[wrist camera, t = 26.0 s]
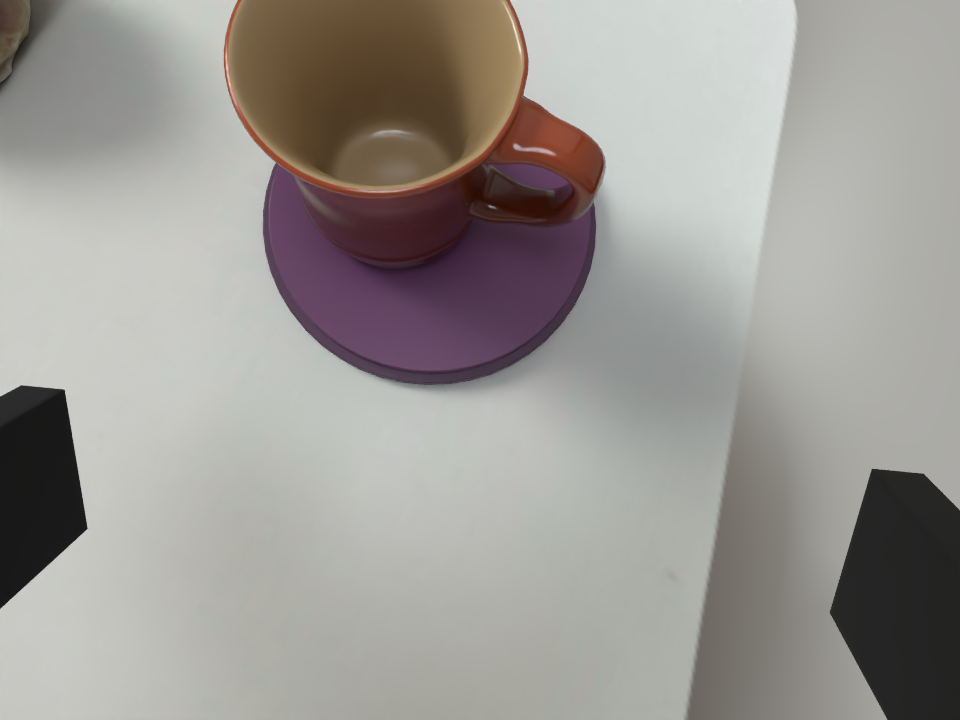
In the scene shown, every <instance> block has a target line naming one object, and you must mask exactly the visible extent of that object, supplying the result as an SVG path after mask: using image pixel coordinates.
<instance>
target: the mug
mask: <svg viewBox="0 0 960 720" xmlns="http://www.w3.org/2000/svg"><path fill="white" fill-rule="evenodd" d="M528 62H529V61H528V53H527V48H526V43H525V39H524V35H523V31H522V28H521V25H520V22H519V19H518V17H517V15H516V12H515V10H514V8H513V6H512V4H511V2H510V0H238V1H237V3H236V5H235V7H234V9H233V12H232V15H231V18H230V21H229V24H228V28H227V32H226V37H225V46H224V68H225V77H226V82H227V87H228V91H229V94H230V97H231V100H232V103H233V106H234V108H235V110H236V112H237V115H238V117H239V119H240V120H241V122H242V124H243V125H244V127H245V129H246V130H247V132H248V133H249V134H250V136H251V137H252V138H253V140H254V141H255V142H256V143H257V145H258V146H259V147H260V148H261V149H262V150H263V151H264V152H265V153H266V154H267V155H268V156H269V157H270V158H271V159H272V160H274V161H275V162H276V163H277V164H278V165H280V166H281V167H282V168H284V169H285V170H287V171H288V172H289V173H291V174H292V176H293V179H294V182H295V184H296V187H297V189H298V191H299V194H300V198H301V200H302V203H303V206H304V208H305V210H306V212H307V214H308V216H309V217H310V219H311V221H312V222H313V223H314V225H315V226H316V227H317V229H318V230H319V231H320V232H321V233H322V234H323V235H324V236H325V237H326V238H327V239H328V240H330V241H331V242H332V243H333V244H334V245H336V246H337V247H338V248H339V249H340V250H341V251H343V252H344V253H345V254H347V255H348V256H350V257H352V258H354V259H356V260H358V261H360V262H362V263H365V264H368V265H371V266H375V267H380V268H389V269H400V268H409V267H414V266H418V265H421V264H424V263H427V262H429V261H431V260H433V259H435V258H437V257H439V256H441V255H442V254H444V253H445V252H447V251H448V250H450V249H451V248H452V247H453V246H454V245H455V244H457V243H458V242H459V240H460V239H461V238H462V237H463V236H464V234H465V233H466V231H467V230H468V228H469V227H470V225H471V223H472V222H473V220H478V221H482V222H487V223H494V224H512V225H522V226H530V227H543V228H546V227H557V226H562V225H566V224H569V223H571V222H573V221H575V220H577V219H578V218H580V217H581V216H582V215H583V214H585V213H586V211H587V210H588V209H589V208H590V206H591V205H592V204H593V202H594V200H595V198H596V196H597V194H598V192H599V190H600V187H601V184H602V181H603V178H604V174H605V168H606V166H605V157H604V154H603V152H602V150H601V148H600V147H599V146H598V144H597V143H596V142H595V141H594V140H593V139H592V138H591V137H590V136H589V135H587V134H586V133H585V132H583V131H582V130H580V129H578V128H577V127H575V126H573V125H571V124H569V123H567V122H565V121H563V120H561V119H559V118H557V117H555V116H554V115H552V114H551V113H549V112H548V111H547V110H545V109H544V108H543V107H542V106H540V105H539V104H537V103H535V102H533V101H531V100H530V99H528V98H526V97H525V96H524V95H523V94H524V89H525V85H526V80H527V75H528ZM492 164H497V165H507V164H528V165H534V166H538V167H541V168H544V169H546V170H549V171H551V172H553V173H555V174H557V175H559V176H561V177H562V178H564V179H565V180H566V181H567V182H569V183H568V184H567V185H565V186H562V187H559V188H553V189H539V188H533V187H529V186H526V185H523V184H521V183H519V182H517V181H515V180H514V179H512V178H510V177H509V176H507V175H505V174H504V173H502V172H501V171H499V170H498V169H496V168H495V167H494V166H493V165H492Z"/></svg>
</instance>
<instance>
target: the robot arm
mask: <svg viewBox="0 0 960 720" xmlns="http://www.w3.org/2000/svg"><path fill="white" fill-rule="evenodd" d="M87 529H88V528H87V522H86V516H85V510H84V504H83V498H82V492H81V486H80V480H79V474H78V468H77V462H76V456H75V450H74V444H73V438H72V432H71V426H70V420H69V414H68V408H67V402H66V396H65V390H63V389H53V388H42V387H32V386H22V385H21V386H19V387H18V388H16V389H14V390H12V391H10V392H8V393H6V394H4V395H3V396H1V397H0V608H2V607H3V606H4V605H5V604H6V603H7V602H8V601H9V600H10V599H11V598H12V597H14V596H15V595H16V594H17V593H18V592H19V591H20V590H21V589H22V588H23V587H25V586H26V585H27V584H28V583H29V582H30V581H31V580H32V579H33V578H34V577H35V576H37V575H38V574H39V573H40V572H41V571H42V570H43V569H44V568H45V567H46V566H47V565H49V564H50V563H51V562H52V561H53V560H54V559H55V558H56V557H57V556H58V555H59V554H61V553H62V552H63V551H64V550H65V549H66V548H67V547H68V546H69V545H70V544H71V543H73V542H74V541H75V540H76V539H77V538H78V537H79V536H80V535H81V534H82V533H83V532H85V531H86V530H87ZM830 614H831V616H832V618H833V619H834V621H835V623H836V625H837V627H838V629H839V631H840V632H841V634H842V636H843V638H844V640H845V642H846V644H847V645H848V647H849V649H850V651H851V652H852V655H853V656H854V658H855V660H856V662H857V664H858V666H859V668H860V669H861V671H862V673H863V675H864V677H865V679H866V681H867V682H868V684H869V686H870V688H871V690H872V692H873V694H874V695H875V697H876V699H877V701H878V703H879V705H880V706H881V708H882V710H883V712H884V714H885V716H886V718H887V720H960V510H959V509H958V508H957V507H956V506H955V505H954V504H953V503H952V502H951V501H950V500H949V499H948V498H947V497H946V496H945V495H944V494H943V493H942V492H941V491H940V490H939V489H938V488H937V487H936V486H935V485H934V484H933V483H932V482H931V481H930V480H929V479H928V478H927V477H926V476H925V475H924V474H919V473H909V472H900V471H889V470H878V469H872V471H871V474H870V477H869V481H868V484H867V488H866V491H865V494H864V498H863V501H862V505H861V508H860V511H859V515H858V518H857V522H856V525H855V529H854V532H853V535H852V539H851V542H850V546H849V549H848V552H847V556H846V559H845V563H844V566H843V569H842V573H841V576H840V580H839V583H838V586H837V590H836V593H835V597H834V600H833V604H832V607H831V610H830Z"/></svg>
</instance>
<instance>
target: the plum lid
mask: <svg viewBox="0 0 960 720" xmlns="http://www.w3.org/2000/svg"><path fill="white" fill-rule="evenodd" d="M492 165H493V166H494V167H495V168H496V169H498V170H499V171H501V172H502V173H504V174H505V175H507V176H509V177H510V178H512V179H514V180H515V181H517V182H519V183H521V184H523V185H526V186H529V187H533V188H539V189H553V188H559V187H562V186H565V185H567V184H568V183H569V182H567V181H566V180H565V179H564V178H562V177H561V176H559V175H557V174H555V173H553V172H551V171H549V170H546V169H544V168H541V167H538V166H534V165H528V164H507V165H497V164H492ZM595 234H596V221H595V207H594V202H593V204H592V205H591V206H590V208H589V209H588V210H587V211H586V213H585V214H583V215H582V216H581V217H580V218H578V219H577V220H575V221H573V222H571V223H569V224H566V225H562V226H557V227H546V228H543V227H530V226H522V225H512V224H494V223H487V222H482V221H478V220H473V222H472V223H471V225H470V227H469V228H468V230H467V231H466V233H465V234H464V236H463V237H462V238H461V239H460V240H459V242H458V243H457V244H455V245H454V246H453V247H452V248H451V249H450V250H448V251H447V252H445V253H444V254H442V255H441V256H439V257H437V258H435V259H433V260H431V261H429V262H427V263H424V264H421V265H418V266H414V267H409V268H400V269H389V268H380V267H375V266H371V265H368V264H365V263H362V262H360V261H358V260H356V259H354V258H352V257H350V256H348V255H347V254H345V253H344V252H343V251H341V250H340V249H339V248H338V247H337V246H336V245H334V244H333V243H332V242H331V241H330V240H328V239H327V238H326V237H325V236H324V235H323V234H322V233H321V232H320V231H319V230H318V229H317V227H316V226H315V225H314V223H313V222H312V221H311V219H310V217H309V216H308V214H307V212H306V210H305V208H304V206H303V203H302V200H301V198H300V194H299V191H298V189H297V187H296V184H295V182H294V179H293V176H292V174H291V173H289V172H288V171H287V170H285V169H284V168H282V167H281V166H280V165H278V164H277V163H276V164H275V166H274V168H273V170H272V174H271V177H270V180H269V184H268V187H267V190H266V197H265V203H264V209H263V236H264V244H265V252H266V256H267V259H268V263H269V267H270V271H271V274H272V276H273V279H274V281H275V283H276V286H277V288H278V290H279V293H280V294H281V296H282V298H283V299H284V301H285V303H286V304H287V306H288V308H289V309H290V311H291V312H292V314H293V315H294V316H295V317H296V319H297V320H298V321H299V322H300V323H301V325H302V326H303V327H304V328H305V330H306V331H307V332H308V333H309V334H310V335H311V336H312V337H314V338H315V339H316V340H317V341H318V342H319V343H320V344H321V345H322V346H323V347H325V348H326V349H327V350H329V351H330V352H332V353H333V354H334V355H336V356H337V357H339V358H340V359H342V360H344V361H345V362H347V363H349V364H351V365H353V366H355V367H357V368H359V369H361V370H363V371H366V372H368V373H371V374H374V375H376V376H379V377H382V378H386V379H391V380H395V381H399V382H404V383H414V384H424V385H432V384H451V383H458V382H464V381H470V380H473V379H477V378H480V377H483V376H487V375H490V374H493V373H495V372H497V371H499V370H502V369H504V368H506V367H508V366H511V365H512V364H514V363H516V362H517V361H519V360H521V359H522V358H524V357H525V356H527V355H529V354H530V353H531V352H532V351H534V350H535V349H536V348H537V347H539V346H540V345H541V344H542V343H544V342H545V341H546V340H547V339H548V338H549V337H550V336H551V335H552V333H553V332H554V331H555V330H556V329H557V328H558V327H559V326H560V325H561V324H562V322H563V321H564V319H565V318H566V317H567V315H568V314H569V312H570V311H571V310H572V308H573V307H574V305H575V303H576V301H577V299H578V297H579V295H580V293H581V292H582V290H583V288H584V285H585V282H586V279H587V276H588V274H589V271H590V268H591V263H592V258H593V253H594V248H595Z"/></svg>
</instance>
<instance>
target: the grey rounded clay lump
mask: <svg viewBox="0 0 960 720" xmlns="http://www.w3.org/2000/svg"><path fill="white" fill-rule="evenodd" d="M29 21H30V0H0V82H2V81H3V80H4V79H5V78H7V77H8V76H9V75H10V73H11V72H12V62H13V58H14V55H15V53H16V51H17V49H18V47H19V45H20V43H21V42H22V41H23V39H24V38H25V37H26V36H27V35H28V34H29Z"/></svg>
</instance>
